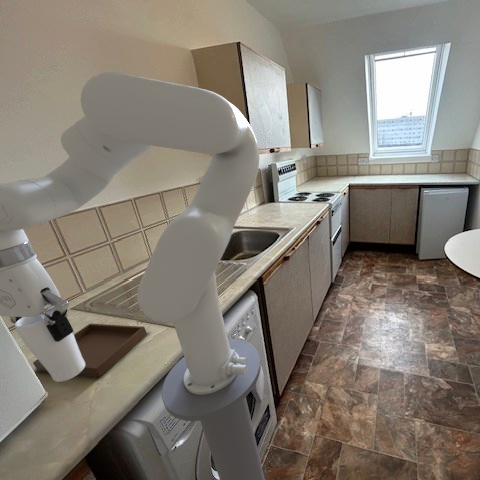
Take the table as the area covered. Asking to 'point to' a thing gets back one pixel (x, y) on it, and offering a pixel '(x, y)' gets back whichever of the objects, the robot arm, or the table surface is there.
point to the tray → (103, 346)
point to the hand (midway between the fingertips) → (49, 335)
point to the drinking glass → (51, 348)
